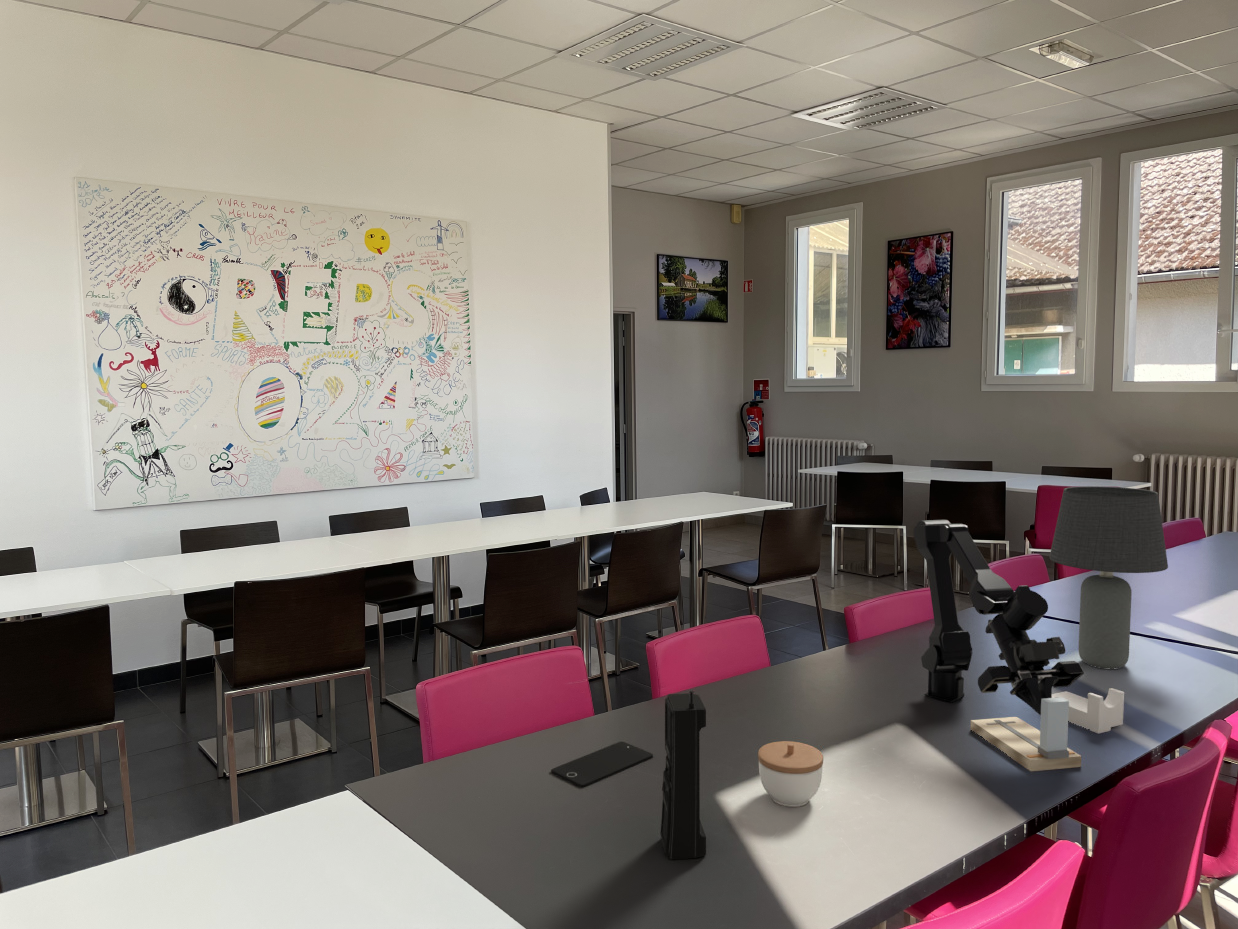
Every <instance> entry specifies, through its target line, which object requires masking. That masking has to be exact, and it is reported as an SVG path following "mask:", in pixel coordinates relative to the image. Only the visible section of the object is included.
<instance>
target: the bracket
mask: <svg viewBox="0 0 1238 929" xmlns="http://www.w3.org/2000/svg"><path fill="white" fill-rule="evenodd" d="M1058 697H1062V698H1064V699H1066V700H1068V701H1069V713H1068V721H1069V722H1068V723H1070V722H1071V724H1073V723H1074V724H1073V725H1075V724H1076V725H1075V726H1078V725H1079V727H1080V726H1082V727H1081V728H1083V727H1084V728H1083V729H1085V728H1086V729H1085V730H1088V729H1090V730H1089V731H1091V732H1093V733H1096V734H1102V733H1105V732H1110V731H1111V730H1112V728H1113V727H1117V726H1122V725H1124V708H1125V705H1124V704H1125V692H1124V691H1122V690H1120V689H1116V688H1113V687H1111V688H1108V693H1107V696H1106V697H1105V699H1104V696H1102V695H1099V694H1095V693H1093V692H1088V693H1087V697H1084V696H1081V695H1078V694H1075V693H1072V692H1070V691H1067V690H1066V691H1061V692H1056V693H1052V698H1058Z"/></svg>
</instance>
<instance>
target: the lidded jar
mask: <svg viewBox="0 0 1238 929" xmlns="http://www.w3.org/2000/svg"><path fill="white" fill-rule="evenodd" d="M757 758H758V759H757V760H758V771H759V779H760V782H761V785H762V787H763V789H764V790H765V791H766V793H767V795H768V796H769V797H771V800H772V801H773V802H775V803H776V804H778V805H780V806H783V807H789V808H798V807H802V806H806V805H807V804H808V803H809V801H810V800H811V799H813V797H815V795H816V794H817V792H818V791H819V788H820V786H821V783H822V780H823V779H822V778H823V768H824V767H823V765H824V755H823V753H822V752H821V751H820V750H819V749H818V748H817V747H814V746H812V745H810V744H806V743H803V742H798V741H790V740H789V741H788V740H782V741H774V742H769V743H766V744H764V745H762V746H761V747H760V748H759V750H758V754H757Z"/></svg>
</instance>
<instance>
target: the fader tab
mask: <svg viewBox="0 0 1238 929" xmlns="http://www.w3.org/2000/svg"><path fill="white" fill-rule="evenodd" d="M1068 713H1069V701H1068V700H1066V699H1064V698H1062V697H1058V698H1045V699H1041V716H1040V723H1039V724H1040V725H1039V726H1040V727H1039V731H1040V746H1038V753H1040V754H1041V755H1043V756H1044V757H1046V758H1047V759H1058V758H1069V751H1068V750H1067V748H1068V736H1069V731H1068V730H1069V722H1068Z"/></svg>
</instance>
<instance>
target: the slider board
mask: <svg viewBox="0 0 1238 929" xmlns="http://www.w3.org/2000/svg"><path fill="white" fill-rule="evenodd" d="M971 730H972V731H971ZM970 731H971V732H973V731H974V732H976V733H977V734H978V735H980V736H982V737H983V738H984V739H985V741H986V740H987V741H988V742H987V741H986V742H987V743H989V742H990V743H991V744H990V743H989V744H990V745H992V744H993V745H994V746H996V747H997V748H999V749H1000V750H1001V752H1002V751H1003V752H1004V753H1003V752H1002V753H1003V754H1005V753H1006V754H1007V755H1006V754H1005V755H1006V756H1007V757H1009V758H1010V757H1011V759H1012V760H1013V761H1015V762H1016V763H1017V764H1019V765H1021V766H1022V767H1024V768H1025V769H1027V770H1028V771H1029V772H1039V771H1041V772H1042V771H1051V770H1060V769H1061V770H1063V769H1071V768H1081V767H1082V755H1080V754H1079V753H1077V752H1076V751H1074V750H1072V749H1071V748H1069V747H1067V750H1068V751H1069V758H1058V759H1047V758H1046V757H1044V756H1043V755H1041V754H1040V753H1038V746H1040V729H1038V728H1036V727H1034V726H1033V725H1031V724H1029V723H1028V722H1026V721H1024V720H1023V719H1021V718H1019V717H1017V716H1007V717H996V718H995V717H994V718H982V719H970ZM974 732H973V733H974ZM976 733H975V734H976ZM977 734H976V735H977ZM978 735H977V736H978ZM980 736H979V737H980ZM983 738H982V739H983ZM984 739H983V740H984ZM993 745H992V746H993ZM994 746H993V747H994ZM996 747H995V748H996ZM997 748H996V749H997ZM999 749H998V750H999ZM1000 750H999V751H1000Z"/></svg>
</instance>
